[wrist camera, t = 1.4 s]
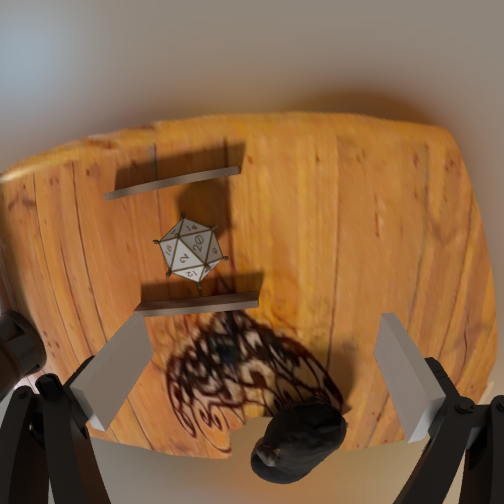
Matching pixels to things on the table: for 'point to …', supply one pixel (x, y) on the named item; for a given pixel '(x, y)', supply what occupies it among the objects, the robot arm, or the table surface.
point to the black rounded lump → (298, 440)
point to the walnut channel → (197, 303)
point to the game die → (191, 250)
